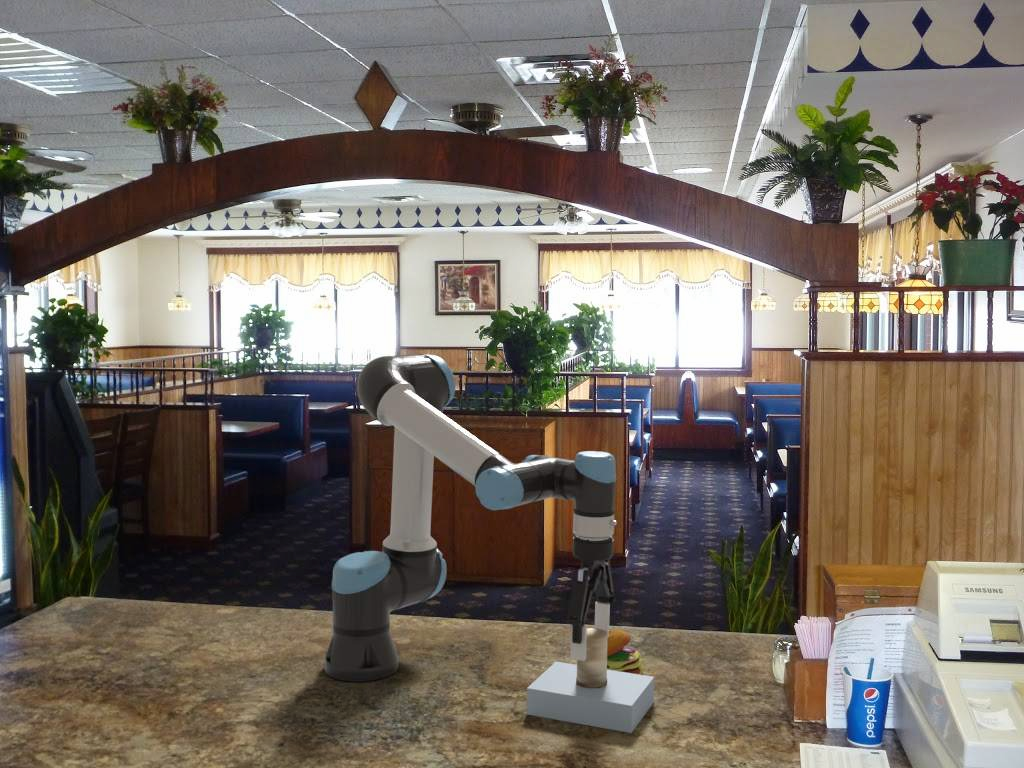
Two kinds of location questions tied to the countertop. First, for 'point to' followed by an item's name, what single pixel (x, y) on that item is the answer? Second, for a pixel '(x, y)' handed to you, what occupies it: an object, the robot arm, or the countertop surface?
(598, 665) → the peg
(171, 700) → the countertop surface
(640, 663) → the cheeseburger
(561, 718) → the board
